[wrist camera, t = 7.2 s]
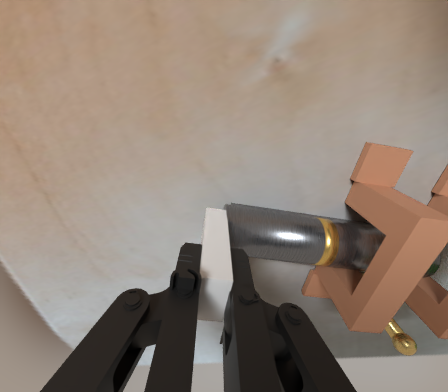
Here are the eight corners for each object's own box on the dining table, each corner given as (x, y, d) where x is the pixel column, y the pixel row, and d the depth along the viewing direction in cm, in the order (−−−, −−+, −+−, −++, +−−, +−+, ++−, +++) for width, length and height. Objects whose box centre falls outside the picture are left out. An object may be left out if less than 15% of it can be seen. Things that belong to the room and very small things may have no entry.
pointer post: (350, 271, 20) (405, 342, 14) (373, 273, 20) (436, 344, 15) (340, 289, 21) (388, 362, 15) (362, 291, 21) (418, 364, 16)
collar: (366, 142, 15) (446, 164, 10) (406, 149, 15) (504, 174, 10) (301, 290, 21) (329, 354, 16) (331, 293, 21) (368, 357, 16)
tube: (218, 234, 18) (218, 264, 15) (226, 196, 17) (228, 220, 13) (388, 256, 20) (423, 288, 16) (409, 223, 18) (451, 251, 15)
